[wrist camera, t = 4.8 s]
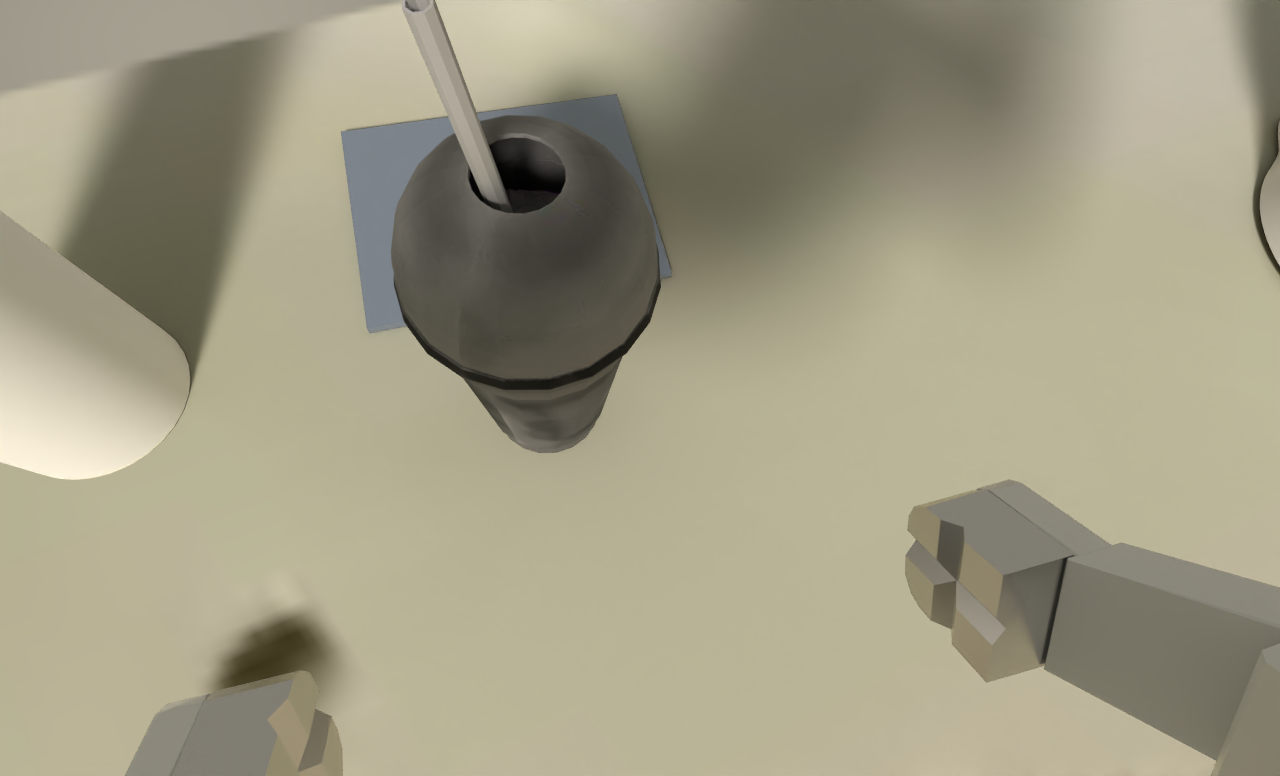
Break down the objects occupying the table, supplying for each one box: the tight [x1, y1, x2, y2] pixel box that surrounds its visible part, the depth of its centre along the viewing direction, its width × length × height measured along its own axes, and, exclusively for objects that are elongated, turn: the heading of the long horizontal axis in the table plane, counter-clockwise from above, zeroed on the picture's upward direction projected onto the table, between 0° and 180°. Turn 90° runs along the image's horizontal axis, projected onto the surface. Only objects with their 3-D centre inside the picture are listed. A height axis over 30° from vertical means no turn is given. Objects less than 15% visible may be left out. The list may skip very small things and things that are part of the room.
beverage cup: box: [391, 0, 661, 453], centre depth 19 cm, size 7×7×20 cm
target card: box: [341, 94, 672, 333], centre depth 32 cm, size 14×11×1 cm
